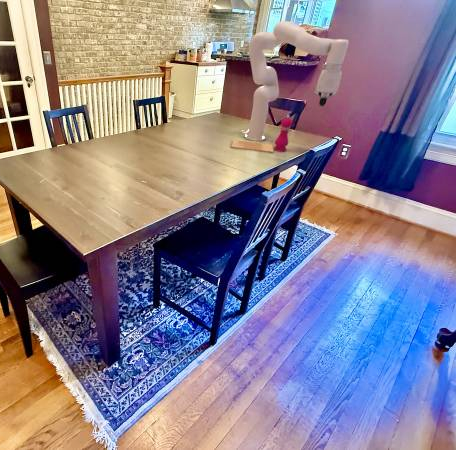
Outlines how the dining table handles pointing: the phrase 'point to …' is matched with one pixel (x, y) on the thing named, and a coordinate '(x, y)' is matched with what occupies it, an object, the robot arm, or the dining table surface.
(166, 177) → the dining table surface
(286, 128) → the pepper mill
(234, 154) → the dining table surface
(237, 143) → the cork mat
